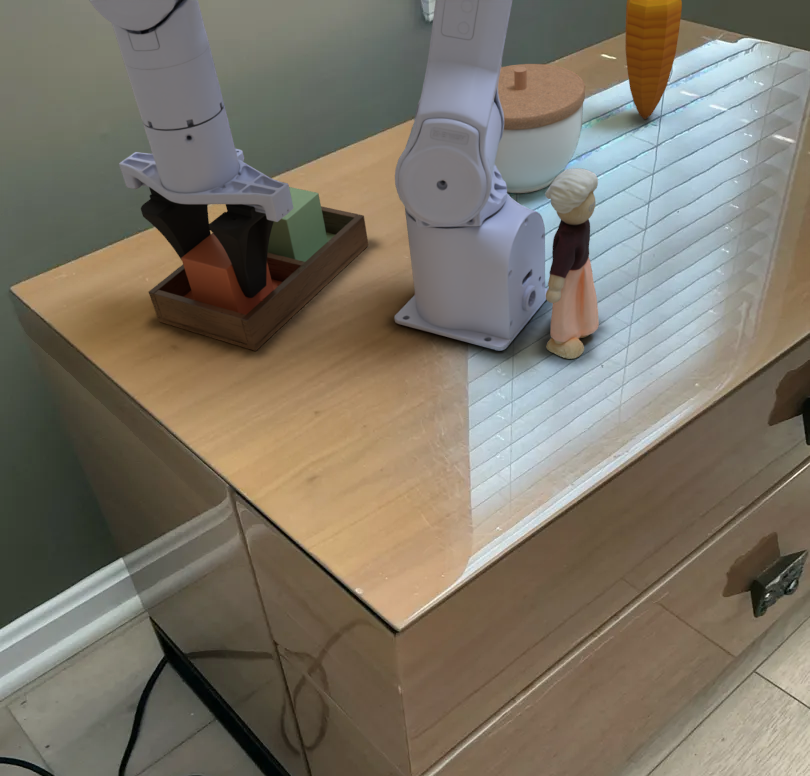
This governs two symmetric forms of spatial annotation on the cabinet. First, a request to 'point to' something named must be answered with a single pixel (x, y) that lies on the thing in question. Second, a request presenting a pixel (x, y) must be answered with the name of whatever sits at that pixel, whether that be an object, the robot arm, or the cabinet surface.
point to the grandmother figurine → (572, 263)
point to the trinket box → (538, 124)
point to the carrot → (650, 49)
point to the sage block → (299, 228)
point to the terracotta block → (218, 278)
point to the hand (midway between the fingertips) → (231, 284)
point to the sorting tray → (288, 297)
